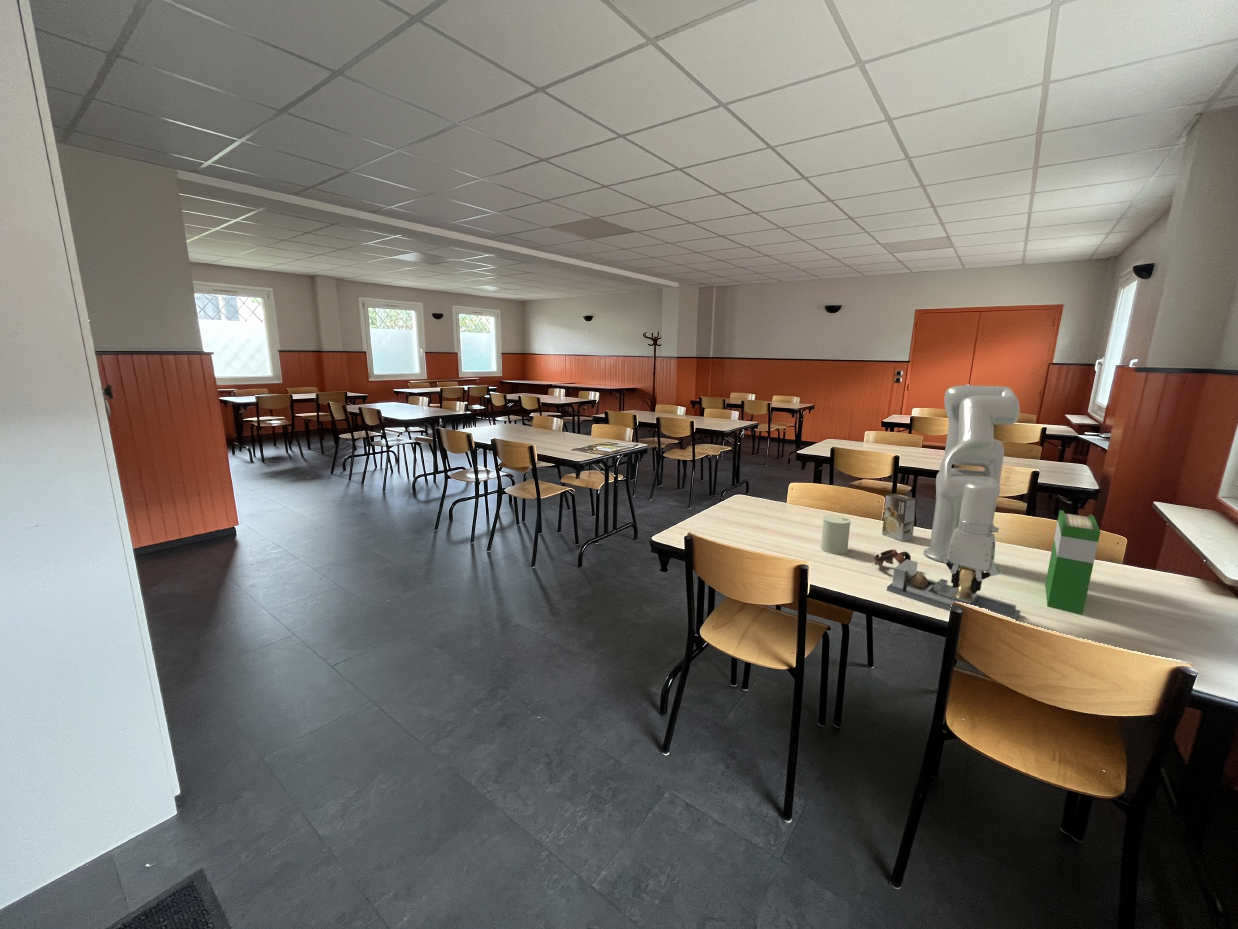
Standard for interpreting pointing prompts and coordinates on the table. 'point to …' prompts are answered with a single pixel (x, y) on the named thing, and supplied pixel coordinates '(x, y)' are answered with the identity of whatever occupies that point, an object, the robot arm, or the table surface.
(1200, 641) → the table surface
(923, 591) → the base
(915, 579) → the walnut
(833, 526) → the can
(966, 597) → the jaw carriage
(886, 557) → the rusty shackles
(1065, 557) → the hardback book
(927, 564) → the table surface
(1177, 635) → the table surface
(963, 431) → the robot arm
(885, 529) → the coffee box
